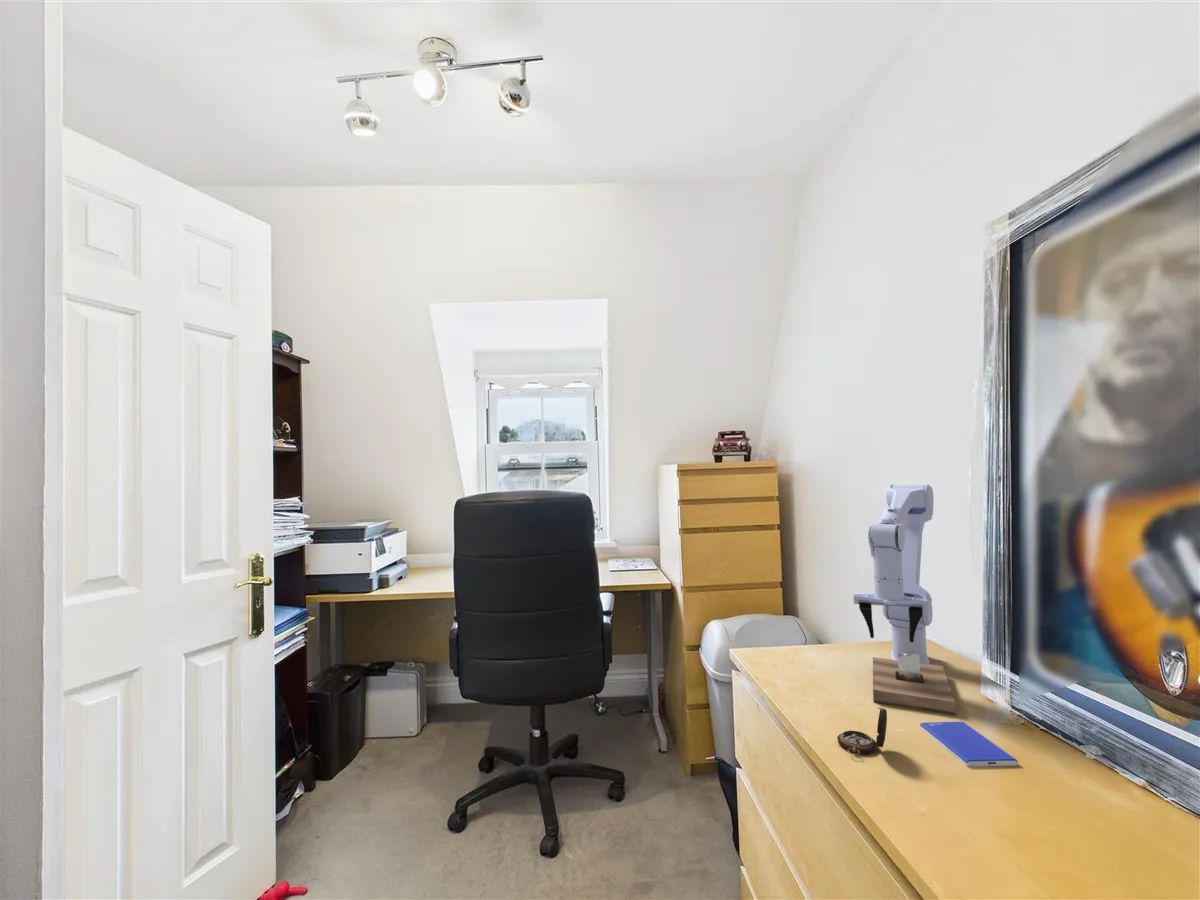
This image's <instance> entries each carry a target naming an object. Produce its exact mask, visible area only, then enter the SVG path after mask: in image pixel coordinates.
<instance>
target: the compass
mask: <svg viewBox="0 0 1200 900" xmlns="http://www.w3.org/2000/svg"><path fill="white" fill-rule="evenodd" d="M876 709H879V711H878V712H879V713H878V721H877V731H876V733H877V735H876V740H875V739H874V738H872V737H871V736H870V735H869V734H867V733H865V732H862V731H858V730H845V731H842V732H841V733H839V735H838V736H837V737H836V739H837V743H838V745H839V746H841V747H842V748H843V749H844V750H846V751H847V752H848V753H849V754H850V755H854V756H858V755H870V754H873V753H875V752H876V751H877V750H878V748H883V747H884V744H885V740H886V733H887V725H888V724H887V723H888V714H887V709H886V708H883V707H876Z"/></svg>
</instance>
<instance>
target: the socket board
mask: <svg viewBox="0 0 1200 900" xmlns="http://www.w3.org/2000/svg"><path fill="white" fill-rule="evenodd" d="M947 677H948V676H947V673H946V672H945V668H944V667H943V665H939V664H932V663H930V664H924V663H920V679H921V683H916V682H909V681H902V680H899V667H898V660H892V659H890V658H882V657H875V656H873V657H872V694H873V703H876V704H877V703H878V704H883V705H888V706H889V705H890V706H895V707H896V706H897V707H901V708H902V707H903V708H908V709H909V708H910V709H914V708H916V709H915V710H920V709H922V711H926V710H927V712H933V713H938V714H947V715H951V714H952V716H956V715H957V713H956V712H957V711H956V701H955V698H954V695H953V692H952V688H951V686H950V684H949V680H948V678H947Z"/></svg>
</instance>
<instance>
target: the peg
mask: <svg viewBox="0 0 1200 900" xmlns="http://www.w3.org/2000/svg"><path fill="white" fill-rule="evenodd" d="M898 667H899V680H902V681H909V682H916V683H921V679H920V660H919V654H918V653H916V652H913V651H907V650H902V651H898Z"/></svg>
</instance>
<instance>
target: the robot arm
mask: <svg viewBox="0 0 1200 900" xmlns="http://www.w3.org/2000/svg"><path fill="white" fill-rule="evenodd" d="M885 496H886V503H887V506H888V507H887V508H885V509H884V510H883V511H882V513H881V515H880V517H879V519H878V521H877V523H873V525H869V527H868V536H867V537H868V538H867V539H868V545H869V549H870V555H871V557H872V560H873V582H874V593H853V597H852V598H853V604H854V605H859V606H858V609H859V611H860V612H861V614H862V616H863V618H864V621H865V623H866V625H867V628H868V632H869V637H870V638H871V639H874V638H875V636H874V635H875V633H874V624H873V609H872V605H873V606H882V613H883V616H884V617H885V619H886V620H887V621H888V623H889V624H890V625H891V640H892V642H891V643H892V645H891V646H892V649H890V658H891V659H892V660H898V651H902V650H907V651H913V652H916V653H918V654H919V660H920V663H924V664H931V663H930V659H929V657H928V653H927V634H926V633H927V631H926V627H929V626H930V625H931V624H932V622H933V604H932V600H933V599H932V596H931V594H930V592H928V590H927V589H924V588H923V587H922V586H921V585H920V580H921V578H920V577H921V575H920V574H921V560H922V559H921V558H922V544H923V542H922V541H923V531H924V527H925V523H927V522H930V521H931V520H932V519H933V516H934V491H933V487H932V486H931V485H930V484H925V485H923V484H910V485H909V484H908V485H907V484H905V485H904V484H902V485H901V484H897V485H896V484H889V485H888V486H887V488H886V495H885ZM870 638H869V639H870Z"/></svg>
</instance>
